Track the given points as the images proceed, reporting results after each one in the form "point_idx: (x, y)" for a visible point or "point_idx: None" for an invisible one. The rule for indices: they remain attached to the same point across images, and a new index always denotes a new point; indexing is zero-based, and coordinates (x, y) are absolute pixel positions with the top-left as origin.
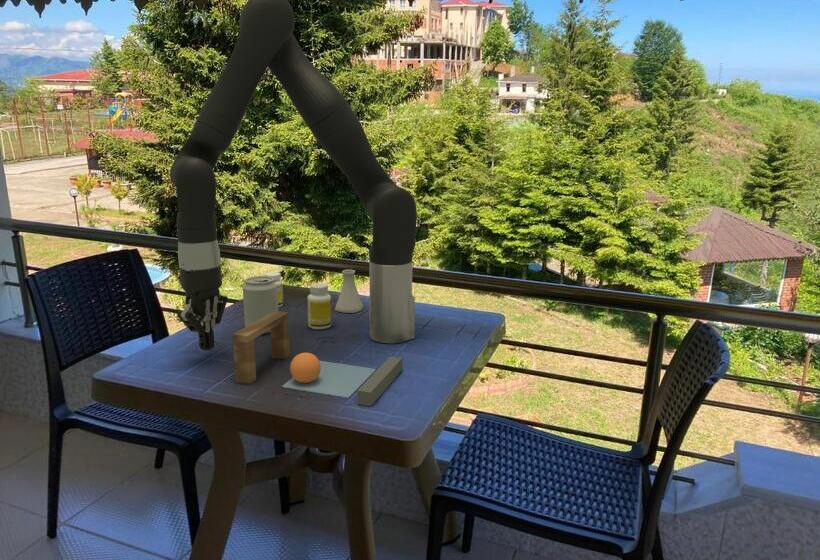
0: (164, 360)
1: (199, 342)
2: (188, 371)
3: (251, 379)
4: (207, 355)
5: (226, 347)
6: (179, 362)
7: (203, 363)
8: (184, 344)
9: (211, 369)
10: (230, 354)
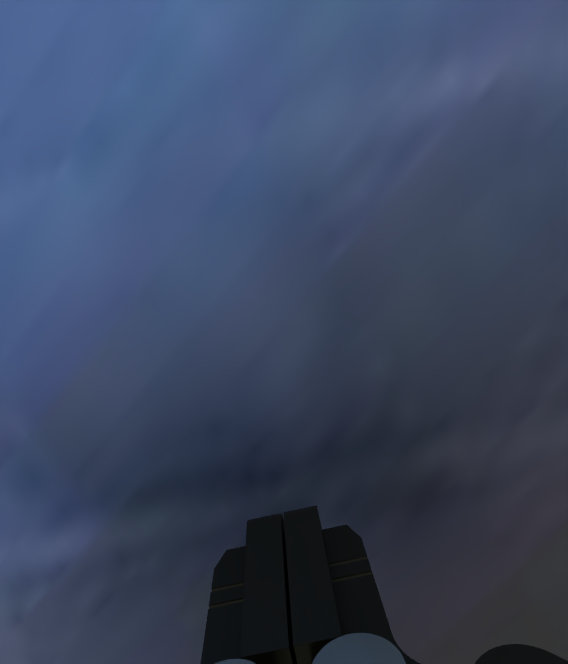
0: (66, 221)
1: (211, 594)
2: (46, 552)
3: None
4: (339, 431)
5: (541, 424)
6: (115, 363)
7: (209, 526)
8: (429, 44)
9: (167, 646)
10: (441, 553)
